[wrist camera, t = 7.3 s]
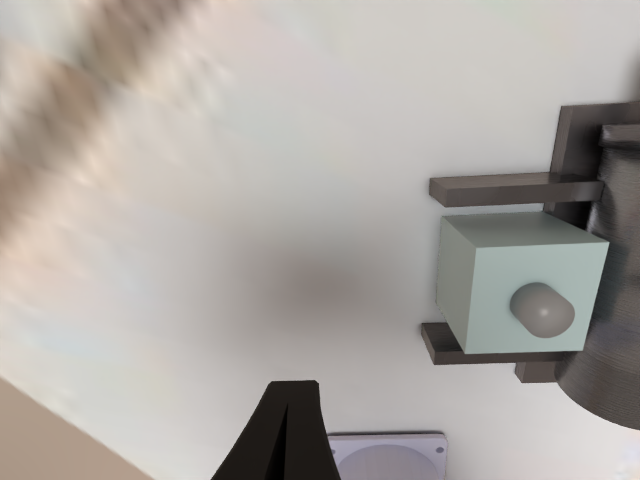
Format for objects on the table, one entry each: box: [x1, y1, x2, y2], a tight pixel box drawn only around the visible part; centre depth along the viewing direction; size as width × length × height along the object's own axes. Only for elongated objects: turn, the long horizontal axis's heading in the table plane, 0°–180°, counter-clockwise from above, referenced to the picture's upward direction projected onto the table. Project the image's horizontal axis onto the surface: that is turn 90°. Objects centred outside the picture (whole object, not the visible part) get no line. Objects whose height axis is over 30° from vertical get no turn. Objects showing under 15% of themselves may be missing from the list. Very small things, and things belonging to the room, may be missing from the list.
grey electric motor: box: [422, 102, 640, 430], centre depth 15 cm, size 17×12×6 cm
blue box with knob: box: [436, 211, 610, 354], centre depth 16 cm, size 5×5×6 cm
